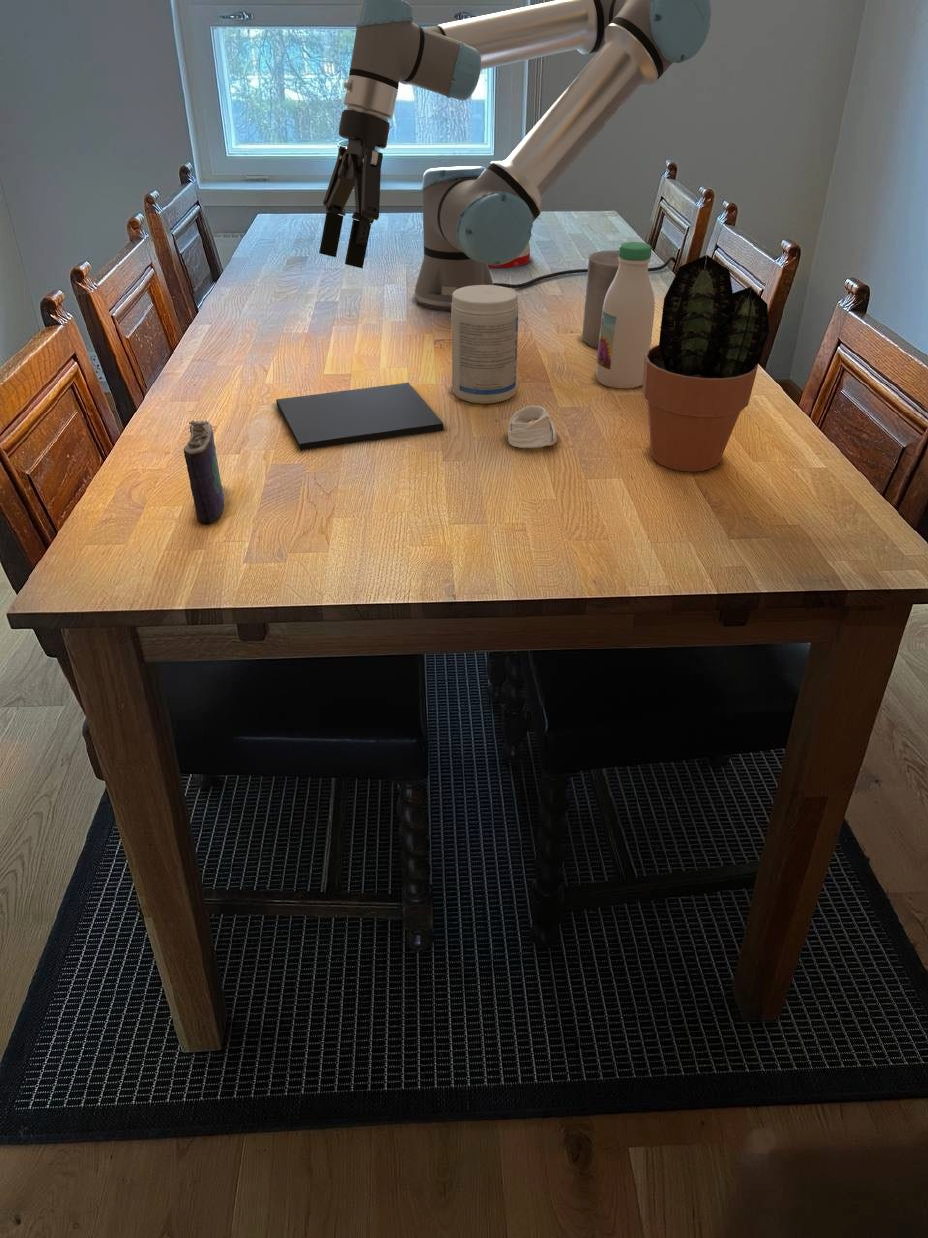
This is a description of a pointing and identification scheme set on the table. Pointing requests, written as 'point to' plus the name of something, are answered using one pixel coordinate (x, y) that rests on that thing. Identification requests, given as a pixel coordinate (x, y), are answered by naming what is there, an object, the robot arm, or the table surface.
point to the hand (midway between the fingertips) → (340, 260)
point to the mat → (357, 416)
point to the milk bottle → (627, 320)
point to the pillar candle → (597, 292)
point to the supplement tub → (484, 343)
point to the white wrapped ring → (531, 428)
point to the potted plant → (702, 365)
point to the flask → (204, 473)
